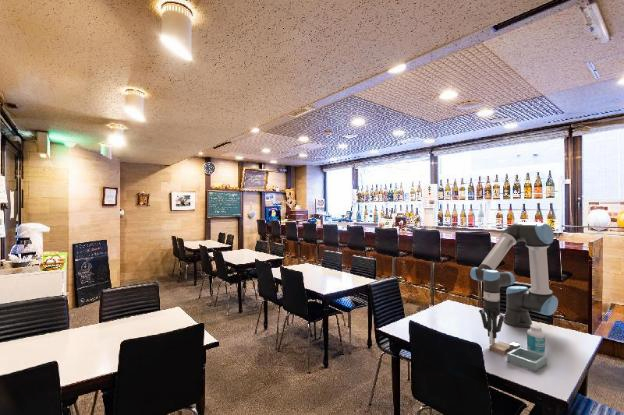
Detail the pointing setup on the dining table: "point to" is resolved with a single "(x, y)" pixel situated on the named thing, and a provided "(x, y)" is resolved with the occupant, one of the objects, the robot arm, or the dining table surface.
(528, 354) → the tray
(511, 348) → the bench dog
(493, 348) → the flat wooden block
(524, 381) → the dining table surface
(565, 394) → the dining table surface
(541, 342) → the pill bottle
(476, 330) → the dining table surface
